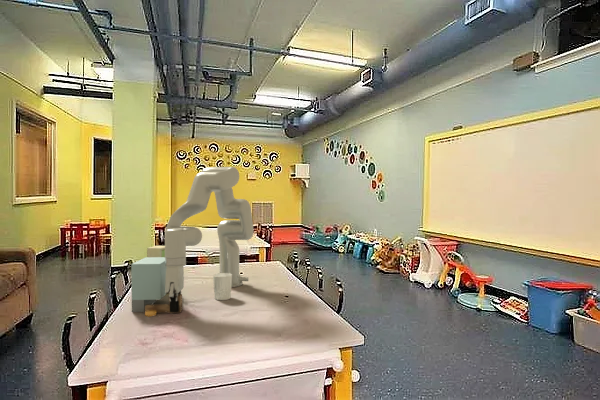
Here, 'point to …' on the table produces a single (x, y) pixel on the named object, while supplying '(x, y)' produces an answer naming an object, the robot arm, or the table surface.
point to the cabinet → (147, 282)
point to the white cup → (222, 286)
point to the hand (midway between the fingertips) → (175, 309)
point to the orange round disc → (150, 313)
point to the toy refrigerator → (156, 251)
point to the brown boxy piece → (164, 306)
